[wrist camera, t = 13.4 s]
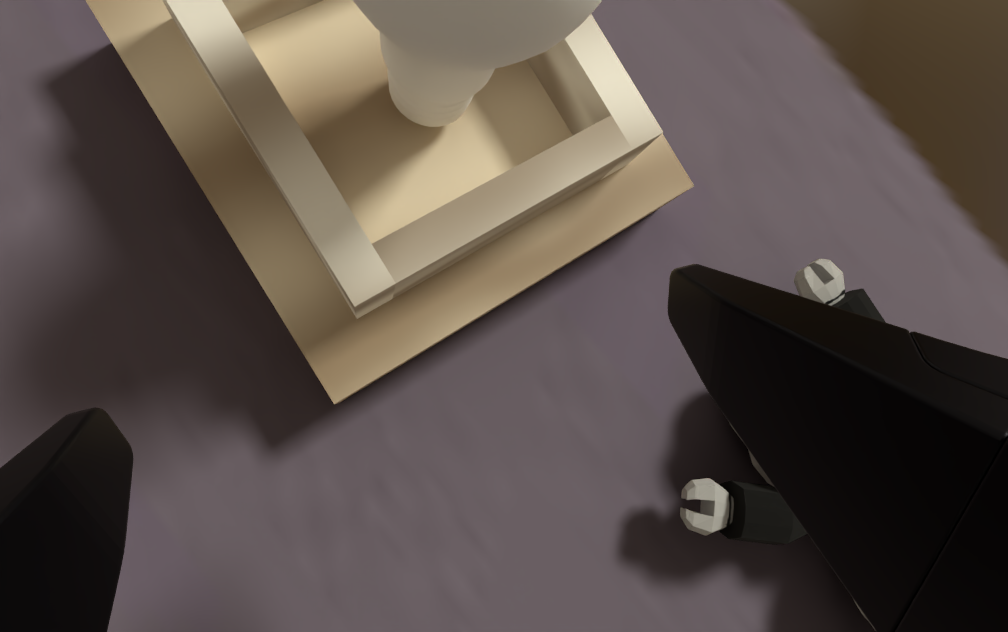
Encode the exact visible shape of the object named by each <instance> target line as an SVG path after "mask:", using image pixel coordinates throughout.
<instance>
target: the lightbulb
mask: <svg viewBox="0 0 1008 632" xmlns="http://www.w3.org/2000/svg"><path fill="white" fill-rule="evenodd" d="M353 1H354V3H355V4H356V5H357V6H358V8H359V9H360V10H361V11H362V12H363V14H364V15H365V16H366V17H367V18H368V20H369V21H370V22H371V23H372V24H373V25H374V27H375V28H376V29H378V30H379V31H380V44H381V52H382V55H383V58H384V61H385V64H386V66H387V67H388V71H387V72H388V81H389V92H390V95H391V98H392V101H393V102H394V104H395V106H396V107H397V109H398V110H399V111H400V112H401V113H402V114H403V115H404V116H405V117H406V118H408V119H409V120H411V121H413V122H415V123H417V124H420V125H423V126H428V127H440V126H445V125H448V124H450V123H453V122H454V121H456V120H457V119H458V118H460V117H461V115H462V114H463V113H464V112H465V110H466V108H467V107H468V105H469V104H470V102H471V100H472V98H473V96H474V94H476V93H477V92H479V91H480V90H481V89H482V88H483V87H484V86H485V85H486V84H487V82H488V81H489V79H490V77H491V75H492V74H493V72H494V70H495V68H501V67H505V66H508V65H511V64H515V63H518V62H521V61H524V60H526V59H529V58H531V57H533V56H536V55H538V54H541V53H543V52H546V51H548V50H549V49H550V48H552V47H553V46H555V45H556V44H558V43H559V42H560V41H562V40H563V39H565V38H566V37H567V36H568V35H570V34H571V33H572V32H573V31H574V30H575V29H576V28H578V27H579V26H580V25H581V24H582V23H583V22H584V21H585V20H586V19H587V18H588V17H589V15H590V14H591V13H592V12H593V11H594V10H595V9H596V8H597V6H598V5H599V4H600V3H601V1H602V0H353Z"/></svg>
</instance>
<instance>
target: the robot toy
mask: <svg viewBox="0 0 1008 632" xmlns="http://www.w3.org/2000/svg"><path fill="white" fill-rule="evenodd" d="M807 266H808V267H806V268H803V269H801V270H799V271H798V272H797V273H796V276H795V279H794V283H795V285H796V288H797V291H798V293H799V296H801V297H805V298H808V299H811V300H814V301H817V302H821V303H824V304H827V305H830V306H833V307H837V308H840V309H843V310H846V311H850V312H853V313H856V314H859V315H862V316H866V317H869V318H872V319H875V320H878V321H882V322H885V321H884V319H883V318H882V316H881V315H880V313H879V312H878V310H877V309H876V307H875V306H874V304H873V303H872V301H871V300H870V298H869V297H868V295H867V294H866V292H865V291H864V289H858V290H852V291H849V292H846V293H845V287H844V279H843V272H842V271H841V270H840V269H839V268H837V267H836V266H835V265H834V264H833V263H832V262H831V261H830V260H825V259H817V260H815V261H813V262H811V263H810V264H808V265H807ZM885 323H886V322H885ZM729 424H730V423H729ZM730 425H731V424H730ZM731 427H732V425H731ZM732 428H733V427H732ZM733 429H734V428H733ZM734 431H735V430H734ZM735 432H736V431H735ZM736 433H737V432H736ZM737 435H738V434H737ZM738 436H739V435H738ZM740 439H741V438H740ZM743 443H744V442H743ZM748 451H749V450H748ZM749 454H750V457H751V461H752V464H753V466H754V467H755V468H756V469H757V471H758V472H759V473H760V474H761V476H762V477H763V478H764V479H765V481H766V482H767V483H768V484H770V485H772V486H766V485H759V484H751V483H744V482H737V481H729V482H725V483H721V484H717V483H716V482H714V481H713V480H711V479H710V478H705V479H696V480H691V481H690V482H688V483H687V484H686V485H685V487H684V488H683V489H682V494H681V498H684V499H686V500H692V499H700V500H701V506H700V512H696V511H690V510H688V509H683V508H682V507H681V508H680V516H681V518H682V520H683V522H684V523H685V525H686V527H687V528H688V529H689V530H692V531H694V532H697V533H700V534H702V535H705V536H706V535H709V534H711V533H713V532H716V531H720V532H721V533H722V534H723V535H724V536H725V537H727V538H728V539H734V540H742V541H750V542H758V543H766V544H789V543H791V542H793V541H795V540H797V539H798V538H800V537H802V536H804V535H806V534H807V532H806V531H805V529H804V528H803V526H802V525H801V524H800V522H799V521H798V519H797V518H796V516H795V515H794V514H793V512H792V511H791V509H790V508H789V507H788V505H787V504H786V502H785V501H784V499H783V498H782V497H781V495H780V494H779V492H778V491H777V489H776V488H775V487H773V486H774V485H773V484H772V482H771V481H770V479H769V478H768V477H767V475H766V474H765V472H764V471H763V469H762V468H761V467H760V465H759V464H758V462H757V461H756V460H755V458H754V457H753V455H752V454H751V452H750V451H749ZM854 602H855V600H854ZM855 604H856V605H857V603H856V602H855ZM857 607H858V608H859V606H858V605H857ZM859 610H860V612H861V613H862V615H863V616H864V617H865V618H866V616H865V615H864V613H863V612H862V610H861V609H860V608H859ZM866 619H867V618H866ZM867 620H868V619H867ZM868 621H869V620H868ZM869 623H870V622H869ZM870 624H871V623H870ZM872 627H873V626H872ZM873 628H874V627H873ZM874 630H875V629H874ZM875 632H876V630H875Z"/></svg>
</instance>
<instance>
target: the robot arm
mask: <svg viewBox="0 0 1008 632" xmlns="http://www.w3.org/2000/svg"><path fill="white" fill-rule="evenodd" d="M668 316H669V319H670V322H671V324H672V326H673V328H674V330H675V332H676V334H677V335H678V337H679V339H680V341H681V343H682V345H683V346H684V348H685V350H686V352H687V354H688V356H689V358H690V359H691V361H692V363H693V365H694V367H695V369H696V371H697V372H698V374H699V376H700V378H701V380H702V382H703V383H704V385H705V387H706V389H707V390H708V392H709V394H710V395H711V397H712V398H713V400H714V401H715V403H716V404H717V405H718V407H719V408H720V410H721V411H722V413H723V414H724V415H725V417H726V418H727V420H728V421H729V423H730V424H731V425H732V427H733V428H734V430H735V431H736V432H737V434H738V435H739V437H740V438H741V440H742V441H743V442H744V444H745V445H746V447H747V448H748V450H749V451H750V452H751V454H752V455H753V457H754V458H755V460H756V461H757V462H758V464H759V465H760V467H761V468H762V469H763V471H764V472H765V474H766V475H767V477H768V478H769V479H770V481H771V482H772V484H773V485H774V487H775V488H776V489H777V491H778V492H779V494H780V495H781V497H782V498H783V499H784V501H785V502H786V504H787V505H788V507H789V508H790V509H791V511H792V512H793V514H794V515H795V516H796V518H797V519H798V521H799V522H800V524H801V525H802V526H803V528H804V529H805V531H806V532H807V534H808V535H809V536H810V538H811V539H812V541H813V542H814V544H815V545H816V546H817V548H818V549H819V551H820V552H821V553H822V555H823V556H824V558H825V559H826V561H827V562H828V563H829V565H830V566H831V568H832V569H833V571H834V572H835V573H836V575H837V576H838V578H839V579H840V581H841V582H842V583H843V585H844V586H845V588H846V589H847V590H848V592H849V593H850V595H851V596H852V598H853V599H854V600H855V602H856V603H857V605H858V606H859V608H860V609H861V610H862V612H863V613H864V615H865V616H866V618H867V619H868V620H869V622H870V623H871V625H872V626H873V627H874V629H875V630H876V632H1008V359H1006V358H1002V357H999V356H995V355H991V354H987V353H984V352H980V351H977V350H973V349H970V348H967V347H963V346H960V345H956V344H953V343H950V342H946V341H943V340H940V339H936V338H933V337H930V336H927V335H924V334H921V333H917V332H911V333H909V331H908V330H907V329H904V328H901V327H898V326H895V325H891V324H888V323H885V322H882V321H878V320H875V319H872V318H869V317H866V316H862V315H859V314H856V313H853V312H850V311H846V310H843V309H840V308H837V307H833V306H830V305H827V304H824V303H821V302H817V301H814V300H811V299H808V298H805V297H801V296H798V295H795V294H792V293H789V292H785V291H782V290H779V289H776V288H772V287H769V286H766V285H763V284H760V283H756V282H753V281H750V280H747V279H744V278H740V277H737V276H734V275H731V274H728V273H724V272H721V271H718V270H715V269H712V268H708V267H705V266H702V265H699V264H692V265H687V266H683V267H679V268H676V269H674V270H673V271H672V272H671V275H670V282H669V297H668ZM132 468H133V453H132V449H131V446H130V444H129V443H128V441H127V440H126V438H125V437H124V436H123V434H122V433H121V432H120V430H119V429H118V427H117V426H116V425H115V423H114V422H113V420H112V419H111V418H110V416H109V415H108V414H107V413H106V412H105V411H104V410H103V409H100V408H91V409H87V410H83V411H78V412H74V413H70V414H68V415H66V416H65V417H63V418H62V419H61V420H59V421H58V422H57V423H56V424H54V425H53V426H52V427H51V428H50V429H48V430H47V431H46V432H45V433H43V434H42V435H41V436H40V437H38V438H37V439H36V440H35V441H33V442H32V443H31V444H30V445H28V446H27V447H26V448H25V449H23V450H22V451H21V452H20V453H18V454H17V455H16V456H15V457H13V458H12V459H11V460H10V461H9V462H7V463H6V464H5V465H4V466H2V467H1V468H0V632H107V630H108V625H109V620H110V616H111V611H112V607H113V602H114V598H115V593H116V589H117V584H118V579H119V575H120V570H121V565H122V560H123V555H124V548H125V541H126V532H127V521H128V511H129V500H130V489H131V479H132Z"/></svg>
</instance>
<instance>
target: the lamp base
mask: <svg viewBox="0 0 1008 632" xmlns="http://www.w3.org/2000/svg"><path fill="white" fill-rule="evenodd" d="M86 2H87V3H88V5H89V7H90V8H91V10H92V12H93V13H94V15H95V16H96V18H97V20H98V21H99V23H100V25H101V26H102V28H103V29H104V31H105V33H106V34H107V36H108V38H109V39H110V41H111V42H112V44H113V46H114V47H115V49H116V51H117V52H118V54H119V55H120V57H121V59H122V60H123V62H124V64H125V65H126V67H127V68H128V70H129V72H130V73H131V75H132V77H133V78H134V80H135V81H136V83H137V85H138V86H139V88H140V90H141V91H142V93H143V94H144V96H145V98H146V99H147V101H148V103H149V104H150V106H151V107H152V109H153V111H154V112H155V114H156V116H157V117H158V119H159V120H160V122H161V124H162V125H163V127H164V129H165V130H166V132H167V133H168V135H169V137H170V138H171V140H172V142H173V143H174V145H175V146H176V148H177V150H178V151H179V153H180V155H181V156H182V158H183V159H184V161H185V163H186V164H187V166H188V168H189V169H190V171H191V172H192V174H193V176H194V177H195V179H196V181H197V182H198V184H199V185H200V187H201V189H202V190H203V192H204V194H205V195H206V197H207V198H208V200H209V202H210V203H211V205H212V207H213V208H214V210H215V211H216V213H217V215H218V216H219V218H220V220H221V221H222V223H223V224H224V226H225V228H226V229H227V231H228V233H229V234H230V236H231V237H232V239H233V241H234V242H235V244H236V246H237V247H238V249H239V250H240V252H241V254H242V255H243V257H244V259H245V260H246V262H247V263H248V265H249V267H250V268H251V270H252V272H253V273H254V275H255V276H256V278H257V280H258V281H259V283H260V285H261V286H262V288H263V289H264V291H265V293H266V294H267V296H268V298H269V299H270V301H271V302H272V304H273V306H274V307H275V309H276V311H277V312H278V314H279V315H280V317H281V319H282V320H283V322H284V324H285V325H286V327H287V328H288V330H289V332H290V333H291V335H292V337H293V338H294V340H295V341H296V343H297V345H298V346H299V348H300V350H301V351H302V353H303V354H304V356H305V358H306V359H307V361H308V363H309V364H310V366H311V367H312V369H313V371H314V372H315V374H316V376H317V377H318V379H319V380H320V382H321V384H322V385H323V387H324V389H325V390H326V392H327V393H328V395H329V397H330V398H331V400H332V402H333V403H334V404H337V403H340V402H342V401H343V400H345V399H347V398H348V397H350V396H351V395H353V394H355V393H356V392H358V391H360V390H361V389H363V388H365V387H366V386H368V385H370V384H371V383H373V382H375V381H376V380H378V379H379V378H381V377H383V376H384V375H386V374H388V373H389V372H391V371H393V370H394V369H396V368H398V367H399V366H401V365H402V364H404V363H406V362H407V361H409V360H411V359H412V358H414V357H416V356H417V355H419V354H421V353H422V352H424V351H426V350H427V349H429V348H430V347H432V346H434V345H435V344H437V343H439V342H440V341H442V340H444V339H445V338H447V337H449V336H450V335H452V334H453V333H455V332H457V331H458V330H460V329H462V328H463V327H465V326H467V325H468V324H470V323H472V322H473V321H475V320H476V319H478V318H480V317H481V316H483V315H485V314H486V313H488V312H490V311H491V310H493V309H495V308H496V307H498V306H500V305H501V304H503V303H504V302H506V301H508V300H509V299H511V298H513V297H514V296H516V295H518V294H519V293H521V292H523V291H524V290H526V289H527V288H529V287H531V286H532V285H534V284H536V283H537V282H539V281H541V280H542V279H544V278H546V277H547V276H549V275H551V274H552V273H554V272H555V271H557V270H559V269H560V268H562V267H564V266H565V265H567V264H569V263H570V262H572V261H574V260H575V259H577V258H578V257H580V256H582V255H583V254H585V253H587V252H588V251H590V250H592V249H593V248H595V247H597V246H598V245H600V244H601V243H603V242H605V241H606V240H608V239H610V238H611V237H613V236H615V235H616V234H618V233H620V232H621V231H623V230H625V229H626V228H628V227H629V226H631V225H633V224H634V223H636V222H638V221H639V220H641V219H643V218H644V217H646V216H648V215H649V214H651V213H652V212H654V211H656V210H657V209H659V208H661V207H662V206H664V205H665V204H667V203H668V202H670V201H671V200H673V199H675V198H676V197H678V196H679V195H681V194H682V193H684V192H685V191H687V190H688V189H690V188H692V187H693V186H694V185H693V183H692V182H691V180H690V178H689V177H688V175H687V173H686V172H685V170H684V168H683V167H682V165H681V164H680V162H679V160H678V159H677V157H676V155H675V154H674V152H673V150H672V149H671V147H670V146H669V144H668V142H667V141H666V139H665V137H664V136H663V134H662V133H663V131H662V129H661V128H660V126H659V124H658V123H657V121H656V120H655V118H654V116H653V115H652V113H651V111H650V110H649V108H648V107H647V105H646V103H645V102H644V100H643V98H642V97H641V95H640V93H639V92H638V90H637V89H636V87H635V85H634V84H633V82H632V80H631V79H630V77H629V75H628V74H627V72H626V71H625V69H624V67H623V66H622V64H621V62H620V61H619V59H618V57H617V56H616V54H615V53H614V51H613V49H612V48H611V46H610V44H609V43H608V41H607V39H606V38H605V36H604V35H603V33H602V31H601V30H600V28H599V26H598V25H597V23H596V21H595V20H594V18H593V17H592V15H591V14H590V15H589V17H588V18H587V19H586V20H585V21H584V22H583V23H582V24H581V25H580V26H579V27H578V28H576V29H575V30H574V31H573V32H572V33H571V34H570V35H568V36H567V37H566V38H565V39H563V40H562V41H560V42H559V43H558V44H556V45H555V46H553V47H552V48H550V49H549V50H548V51H546V52H543V53H541V54H538V55H536V56H533V57H531V58H529V59H526V60H524V61H521V62H518V63H515V64H511V65H508V66H505V67H501V68H495V70H494V72H493V74H492V75H491V77H490V79H489V81H488V82H487V84H486V85H485V86H484V87H483V88H482V89H481V90H480V91H479V92H477V93H476V94H474V96H473V98H472V100H471V102H470V104H469V105H468V107H467V108H466V110H465V112H464V113H463V114H462V115H461V117H460V118H458V119H457V120H456V121H454V122H453V123H450V124H448V125H445V126H440V127H428V126H423V125H420V124H417V123H415V122H413V121H411V120H409V119H408V118H406V117H405V116H404V115H403V114H402V113H401V112H400V111H399V110H398V109H397V107H396V106H395V104H394V102H393V101H392V98H391V95H390V92H389V81H388V72H387V71H388V67H387V66H386V64H385V61H384V58H383V55H382V52H381V44H380V31H379V30H378V29H376V28H375V27H374V25H373V24H372V23H371V22H370V21H369V20H368V18H367V17H366V16H365V15H364V14H363V12H362V11H361V10H360V9H359V8H358V6H357V5H356V4H355V3H354V1H353V0H86Z"/></svg>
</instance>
